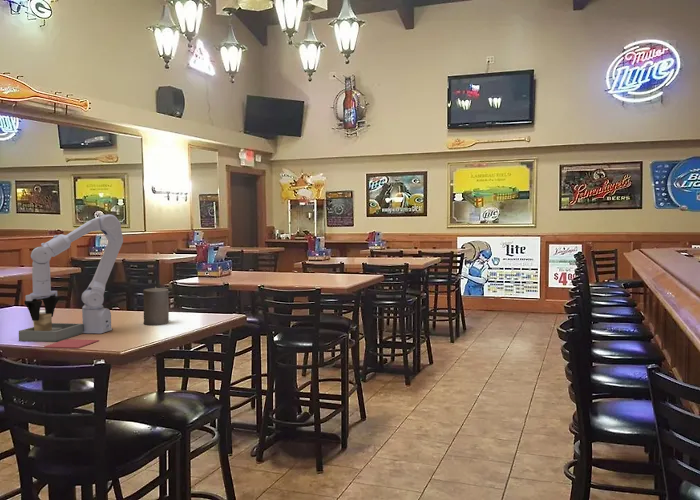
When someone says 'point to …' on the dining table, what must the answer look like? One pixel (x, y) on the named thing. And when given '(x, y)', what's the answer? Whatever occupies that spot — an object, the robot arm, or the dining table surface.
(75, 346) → the bar mat
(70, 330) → the grey green tray
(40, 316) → the maple block
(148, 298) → the pillar candle
